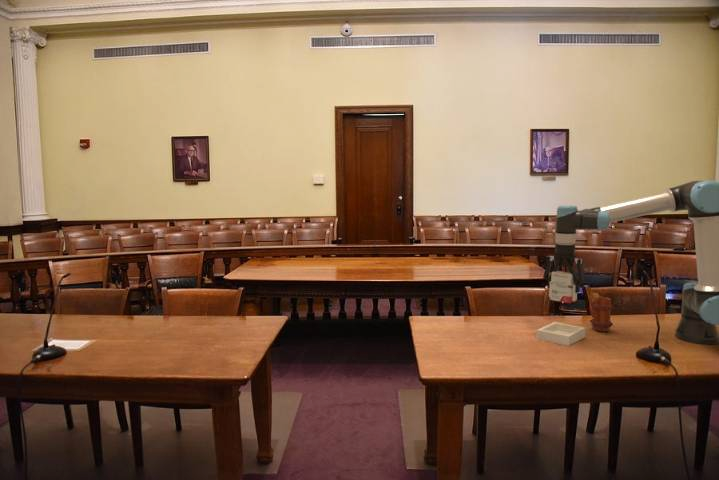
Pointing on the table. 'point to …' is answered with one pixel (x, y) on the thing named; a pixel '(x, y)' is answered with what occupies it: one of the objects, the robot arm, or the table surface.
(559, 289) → the ink box
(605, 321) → the mug
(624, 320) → the table surface
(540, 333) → the tray
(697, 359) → the table surface
